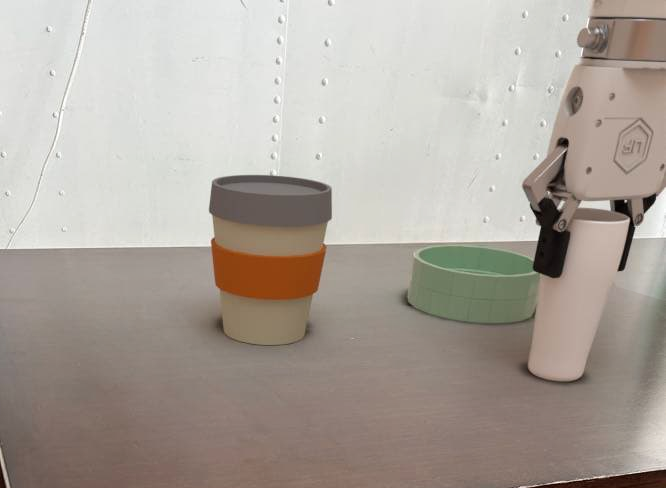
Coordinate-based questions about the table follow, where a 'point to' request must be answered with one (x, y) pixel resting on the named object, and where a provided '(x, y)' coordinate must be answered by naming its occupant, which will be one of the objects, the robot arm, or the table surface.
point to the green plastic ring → (473, 283)
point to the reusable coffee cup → (268, 253)
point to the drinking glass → (577, 295)
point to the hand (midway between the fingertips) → (578, 269)
